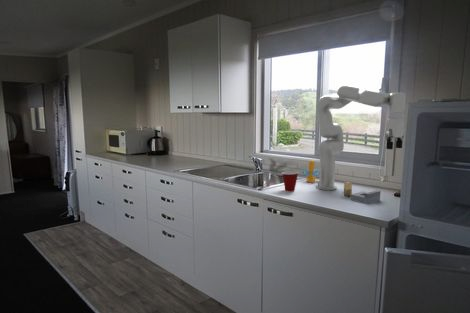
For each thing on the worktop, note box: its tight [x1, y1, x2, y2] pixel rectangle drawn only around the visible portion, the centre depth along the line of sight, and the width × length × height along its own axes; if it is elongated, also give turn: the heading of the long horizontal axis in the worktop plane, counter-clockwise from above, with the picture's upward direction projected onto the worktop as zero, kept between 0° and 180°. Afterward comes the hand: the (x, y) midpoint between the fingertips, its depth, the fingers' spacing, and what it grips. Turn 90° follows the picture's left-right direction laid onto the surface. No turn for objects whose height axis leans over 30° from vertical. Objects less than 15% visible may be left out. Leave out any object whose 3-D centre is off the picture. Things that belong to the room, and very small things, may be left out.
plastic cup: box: [281, 171, 299, 192], centre depth 206 cm, size 11×11×12 cm
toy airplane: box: [302, 160, 320, 183], centre depth 233 cm, size 12×10×15 cm
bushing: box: [343, 181, 353, 198], centre depth 193 cm, size 4×4×8 cm
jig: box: [350, 189, 381, 204], centre depth 184 cm, size 11×12×5 cm
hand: (394, 148), depth 174 cm, fingers open, 9 cm apart
